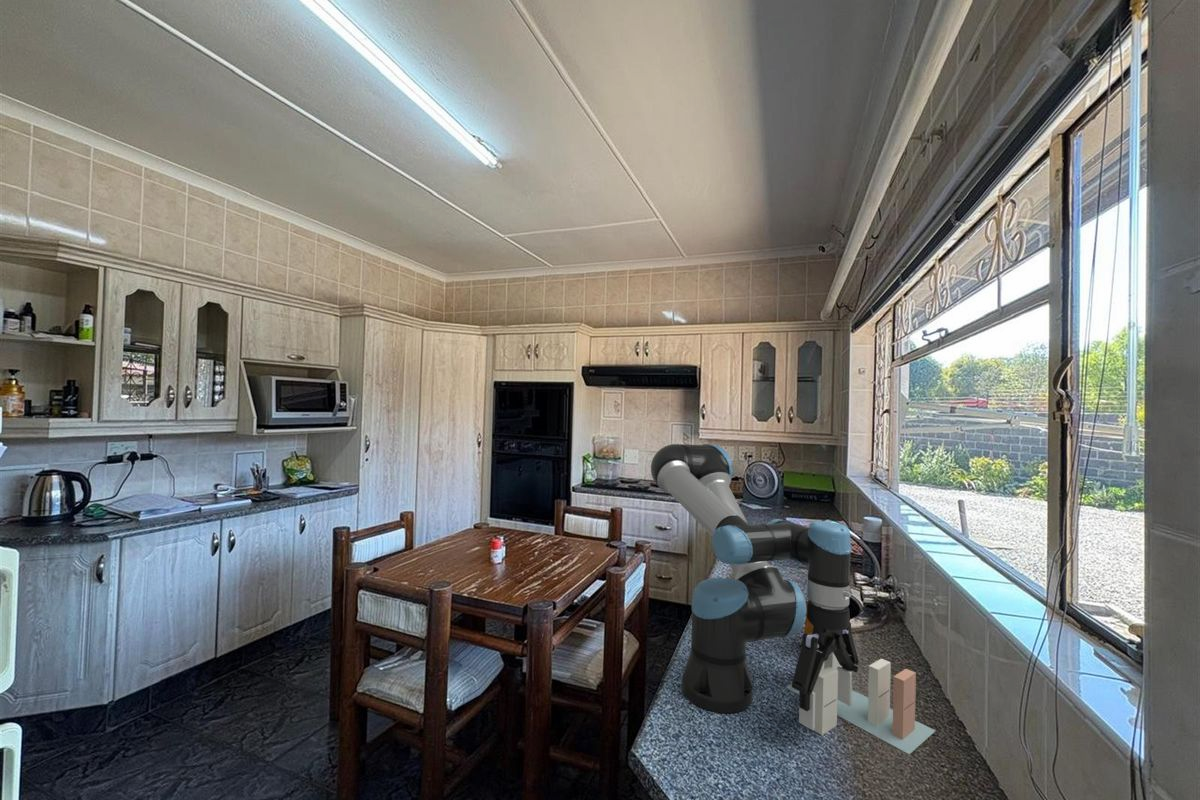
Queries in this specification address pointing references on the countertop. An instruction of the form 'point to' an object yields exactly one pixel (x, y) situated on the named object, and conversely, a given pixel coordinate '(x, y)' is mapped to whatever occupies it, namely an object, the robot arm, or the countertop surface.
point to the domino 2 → (826, 700)
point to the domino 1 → (831, 662)
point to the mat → (884, 731)
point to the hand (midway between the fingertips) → (826, 713)
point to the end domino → (904, 703)
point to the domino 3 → (879, 692)
